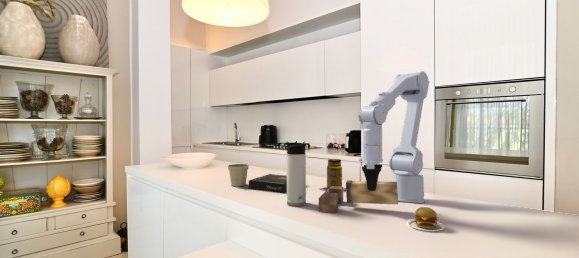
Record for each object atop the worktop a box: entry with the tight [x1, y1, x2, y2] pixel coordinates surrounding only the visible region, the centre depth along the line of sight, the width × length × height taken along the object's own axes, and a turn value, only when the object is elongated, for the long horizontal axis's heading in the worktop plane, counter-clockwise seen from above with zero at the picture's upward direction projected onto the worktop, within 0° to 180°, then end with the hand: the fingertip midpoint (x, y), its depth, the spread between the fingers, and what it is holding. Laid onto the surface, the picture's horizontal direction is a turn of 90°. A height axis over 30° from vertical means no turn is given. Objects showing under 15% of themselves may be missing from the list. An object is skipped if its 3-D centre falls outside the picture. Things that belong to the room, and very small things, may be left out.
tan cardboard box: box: [318, 186, 344, 214], centre depth 96 cm, size 5×14×5 cm, turn 160°
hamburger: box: [406, 206, 446, 233], centre depth 77 cm, size 12×12×6 cm
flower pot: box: [226, 163, 250, 188], centre depth 128 cm, size 9×9×9 cm
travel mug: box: [286, 142, 307, 207], centre depth 98 cm, size 6×7×20 cm
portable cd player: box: [248, 173, 287, 194], centre depth 125 cm, size 16×17×4 cm
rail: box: [345, 179, 399, 205], centre depth 91 cm, size 15×4×6 cm, turn 70°
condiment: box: [319, 158, 346, 192], centre depth 120 cm, size 7×8×12 cm
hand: (372, 189), depth 91 cm, fingers closed on rail, 3 cm apart
